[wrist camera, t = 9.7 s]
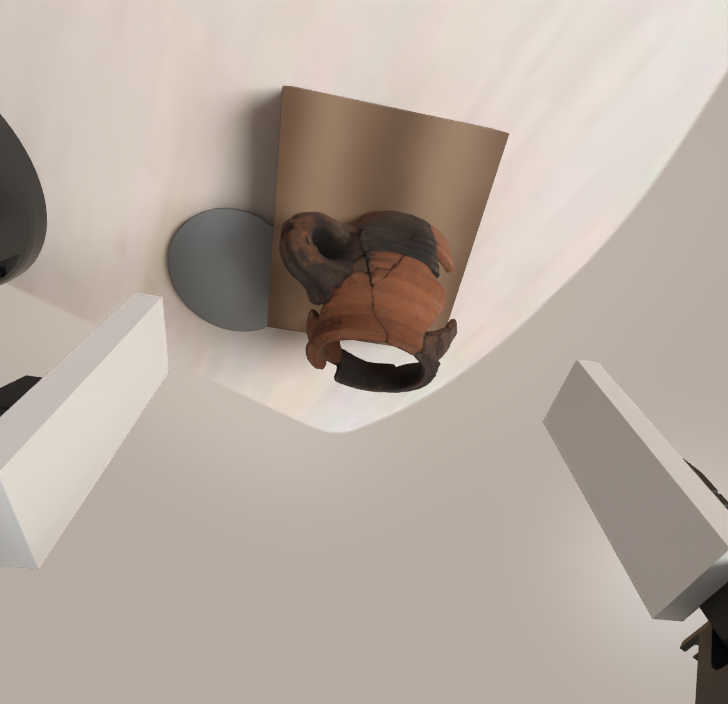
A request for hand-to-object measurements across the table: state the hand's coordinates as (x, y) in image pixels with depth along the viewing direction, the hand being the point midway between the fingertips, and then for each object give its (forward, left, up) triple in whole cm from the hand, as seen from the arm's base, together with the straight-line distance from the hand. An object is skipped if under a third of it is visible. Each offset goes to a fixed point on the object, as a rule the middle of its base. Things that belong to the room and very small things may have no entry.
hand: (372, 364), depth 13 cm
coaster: (-9, -5, -17) cm, 20 cm away
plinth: (0, 0, -17) cm, 17 cm away
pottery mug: (0, 0, -15) cm, 15 cm away
